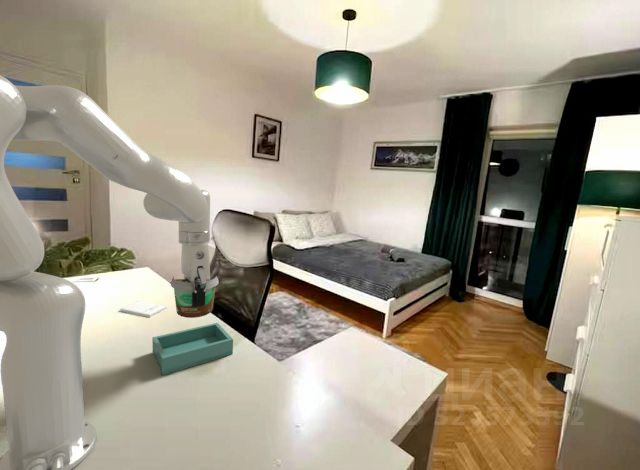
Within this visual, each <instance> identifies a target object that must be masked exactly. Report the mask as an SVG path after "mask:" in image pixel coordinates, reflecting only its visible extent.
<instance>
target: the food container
mask: <svg viewBox="0 0 640 470" xmlns="http://www.w3.org/2000/svg"><path fill="white" fill-rule="evenodd" d="M195 280H199V278H196V279H195ZM206 281H207V283H206V285H205V286H206V287H205V289H206V291H205V305H204V306H199V307H192V292H193V285H192V282H191V281H189V280H188V279H184V278H182V279H177V278H176V279H175V276H172V278H171V282H170V287H172V289H173V291H174V299H175V308H176V309H175V310H176V314H177V315H178V316H180V317H183V318H189V319H191V318H195V319H197V318H201V317H204V316H207V315H209V314H211V313H212V312H213V310H214V301H215V293H216V288H217V286H218V285H219V278H218V276H217V275H216V276H215V277H214V278H210V279H209V280H206ZM198 284H199V283H196V287H197V285H198Z"/></svg>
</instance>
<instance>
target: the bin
mask: <svg viewBox="0 0 640 470" xmlns="http://www.w3.org/2000/svg"><path fill="white" fill-rule="evenodd" d="M233 351H234V339H233V338H232V336H230V334H228V332H227V331H226V329H224V328H223V327H222V326H221V324H220V323H218V322H215V323H211V324H210V323H209V324H205V325H202V326H201V325H200V326H196V327H193V328H188V329H184V330H183V329H182V330H179V331H175V332H171V333H170V332H169V333H166V334H162V335H157V336H156V335H155V336H153V337H152V354H153V357H154V359H155V361H156V364H157V366H158V368H159V371H160V373H161V375H162V376H164V375H169V374H171V373H175V372H178V371H181V370H186V369H188V368H191V367H195V366H198V365H201V364H204V363H208V362H212V361H214V360H218V359H221V358H225V357H228V356H231V355H234V354H233V353H234V352H233Z"/></svg>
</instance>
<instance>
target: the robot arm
mask: <svg viewBox="0 0 640 470" xmlns="http://www.w3.org/2000/svg"><path fill="white" fill-rule="evenodd" d="M12 141H18V142H19V141H43V142H44V141H45V142H57V143H60V144H62V145H63V146H64V147H65V148H67V150H70V151H71V152H72V153H73V154H75V155H76V156H77V157H79V158H80V159H81V160H82V161H84V162H85V163H86V164H88V165H89V166H90V167H92V168H93V169H95V170H96V171H97V172H98V173H99V174H100V175H101V176H103V177H105V178H106V179H107V180H109V181H111V182H113V183H116V184H118V185H120V186H123V187H125V188H128V189H132V190H135V191H140V192H142V193H146V194H145V196H144V198H143V208H144V210H145V211H146V213H147V214H148V215H150V216H151V217H153V218H155V219H159V220H165V221H175V222H178V243H179V244H180V245H181V254H180V255H181V259H180V261H181V263H180V264H181V266H180V267H181V273H182V274H183V279H188V280H189V281H191V282H192V285H193V292H192V307H199V306H204V305H205V291H206V289H205V287H206V286H205V285H206V283H207V281H206V280H209V279H211V264H210V263H211V261H210V250H209V248H210V247H209V244H210V234H211V233H210V231H211V230H210V228H211V227H210V225H211V223H210V222H211V195H210V192H208V191H207V190H206V189H205V190H204V189H200V187H199V186H198V185H197V184H196V183H195V182H194V180H192V179H191V178H190V177H189V176H187V175H186V173H183V172H182V171H181V170H179V169H178V168H176V167H174V166H172V165H171V164H169V163H167V162H166V161H165V160H162V159H161V158H159V157H158V156H156V155H154V154H151V152H148V151H146V150H144V149H143V148H142V147H141V146H140V145H139V144H138V143H137V142H136V141H135V139H133V138H132V137H131V136H130V135H129V134H128V133H127V132H126V131H125V130H124V129H123V128H122V127H121V126H119V125H118V123H117V122H115V120H113V119H112V118H111V116H109V114H107V112H105V111H104V109H102V108H101V106H100V105H99V104H97V102H96V101H94V100H93V98H91V97H90V96H89V95H88V94H86V93H84V91H81V90H79V89H77V88H74V87H71V86H69V85H68V86H67V85H56V84H55V85H32V86H31V85H29V86H25V85H23V86H22V85H14V84H13V83H12V82H11V81H10V80H9V79H8V78H6V77H5V76H2V75H1V74H0V332H2V333H4V334H5V337H6V338H5V339H6V342H5V347H4V350H3V353H2V356H1V359H0V360H1V361H0V381H1V385H2V395H3V404H4V414H5V415H4V416H5V425H6V426H5V428H6V435H7V444H8V446H7V447H8V450H7V451H6V452H5V453H4V454H3V456H2V457H1V458H0V470H73V469H74V468H75V467H77V466H78V465H79V464H80V463H81V462H83V460H84V459H86V457H87V456H88V455H89V453H91V451H92V450H93V449H94V446H95V444H96V440H97V430H96V427H95V426H94V425H93V424H92V423H90V422H88V421H85V420H86V419H85V406H84V404H85V403H84V402H85V401H84V383H83V368H82V367H83V366H82V365H83V364H82V354H81V353H82V352H81V351H82V350H81V349H82V347H81V339H82V329H83V324H84V323H83V322H84V318H85V313H86V299H85V296H84V294H83V292H82V290H81V289H80V288H79V287H78V286H77V285H76V284H74V283H73V282H71V281H69V280H67V279H65V278H63V277H60V276H56V275H52V274H48V273H43V272H38V271H36V270H38V268H39V267H40V266H41V264H42V262H43V261H44V257H45V246H44V242H43V240H42V238H41V236H40V234H39V232H38V230H37V229H36V226H34V224H33V222H32V221H31V219H30V217H29V216H28V214H27V211H26V210H25V208H24V207H23V205H22V203H21V201H20V200H19V198H18V196H17V194H16V193H15V191H14V189H13V187H12V185H11V183H10V180H9V178H8V176H7V174H6V169H5V157H6V156H5V155H6V152H7V150H8V147H9V145H10V143H11V142H12ZM196 278H199V280H195V279H196ZM196 283H199V284H198V285H197V287H196Z"/></svg>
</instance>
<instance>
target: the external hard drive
mask: <svg viewBox="0 0 640 470" xmlns="http://www.w3.org/2000/svg"><path fill="white" fill-rule="evenodd" d="M165 309H166V310H168V306H166V305H160V304H157V303H156V304H155V303H150V302H146V301H141V300H138V301H136V302H133V303H130V304H128V305H125V306H123V307H121V308H120V312H121V313H127V314H130V315H135V316H136V315H137V316H141V317H145V318H146V317H148V318H151V317H154V316H156V315H157V314H159V313H161V311H162V312H164V311H165ZM163 310H164V311H163Z"/></svg>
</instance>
